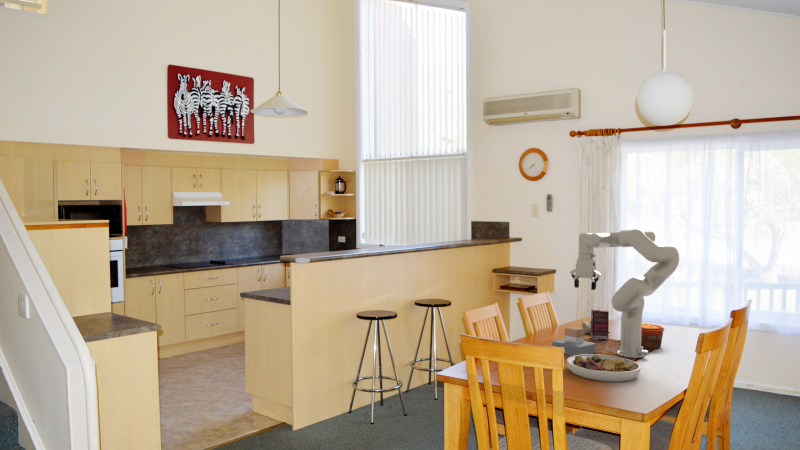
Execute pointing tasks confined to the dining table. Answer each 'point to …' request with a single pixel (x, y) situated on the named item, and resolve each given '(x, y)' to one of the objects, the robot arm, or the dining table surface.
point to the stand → (576, 347)
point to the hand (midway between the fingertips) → (585, 288)
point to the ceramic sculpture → (587, 327)
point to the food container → (651, 336)
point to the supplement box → (599, 324)
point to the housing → (574, 335)
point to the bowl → (603, 367)
